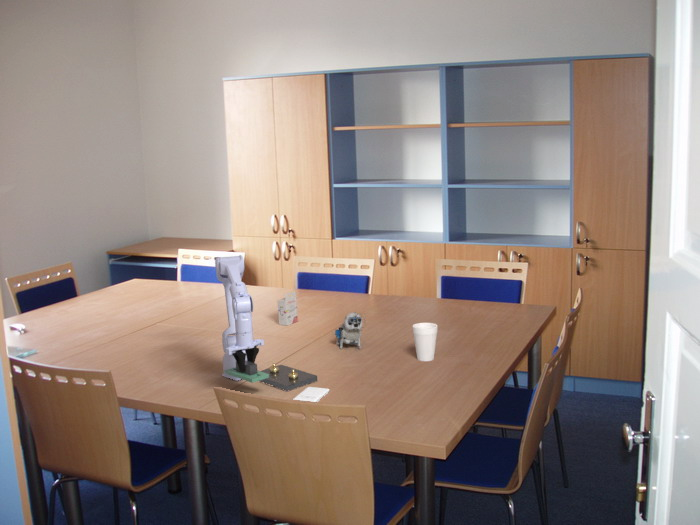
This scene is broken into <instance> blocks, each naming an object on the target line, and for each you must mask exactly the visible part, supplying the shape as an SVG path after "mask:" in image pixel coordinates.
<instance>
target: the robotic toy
mask: <svg viewBox="0 0 700 525" xmlns="http://www.w3.org/2000/svg"><path fill="white" fill-rule="evenodd" d="M360 315H361V313H360V312H358V313H357V312H355V311H353V312H349V313H347V315H346V316H345V317H344V321H343V323H342V324H341V325H340V327H338V329H335V330H334V335H335V336H336V338H337V339H336V343H335V344H336V346H339V349H340V350H343V344H346V345H357V348H358V349H359V350H360V349H362V346H361V338H362V332H363V328H365V326H363V323H366V320H365V318H363V319H362V317H363V316H360ZM363 320H364V321H363Z"/></svg>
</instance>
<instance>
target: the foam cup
mask: <svg viewBox="0 0 700 525" xmlns="http://www.w3.org/2000/svg"><path fill="white" fill-rule="evenodd" d="M438 331H439V330H438V324H437V323H435V322H434V323H433V322H419V323H414V324H412V333H413V339H414V340H413V341H414V345H415V352H416V357H417V358H416V359H417V360H418V361H420V362H431V361H434V358H435V351H436V343H437V334H438Z"/></svg>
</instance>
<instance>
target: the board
mask: <svg viewBox="0 0 700 525" xmlns="http://www.w3.org/2000/svg"><path fill="white" fill-rule="evenodd" d="M261 371H262V370H258V364H257V363H252V362H249V361H246V360H245V372H241V371H240V370H239V367H238V364H237V361H236V367H235V368H231V369H228V370H226V374H228V375H231V376H234V377H237V378H240V379H242V380H243V381H246V382H248V383H251V384H252V383H257V382H258V381H260V380H263V379H266V378H269V374H267V373H264V372H261Z"/></svg>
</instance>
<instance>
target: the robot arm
mask: <svg viewBox="0 0 700 525" xmlns="http://www.w3.org/2000/svg"><path fill="white" fill-rule="evenodd" d="M214 261H215V262H214V264H215V265H214V266H215V272H216V275H215V276H216V278H217V281H218V282H221V283H222V285H223V289H224V296H225V303H226V313H227V321H228V327H227V328H226V329H225V330H224V331H223V332H222V339H221V340H222V341H221V342H222V349H223V353H224V354H223V356H222V368H223V371H222V372H223V373H222V374H221V376H222V377H224V378H227V379H229V378H230V380H232V379H233V381H236V382H239V381H242V380H241V379H240V378H237V377H234V376H231V375H228V374H226V370H228V369H231V368H235V367H236V361H237V364H238V367H239V370H240V371H241V372H245V360H246V361H249V362H252V363H255V361H256V359H257V356H258V354H259V353H260V348H259V346H263V347H264V345H265V340H264V339H263V338H257V339H254V332H253V330H254V329H253V315H252V313H253V311H254V300H253V298H252V295H251V294H250V293H249V292H248V289H247V285H246V283H245V282H243V281H242V279H243V276H244V271H245V259H244V256H243V255H234V256H233V255H231V256H220V257H219V256H217V257H216V258H215V260H214ZM255 364H256V363H255ZM238 380H239V381H238Z"/></svg>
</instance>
